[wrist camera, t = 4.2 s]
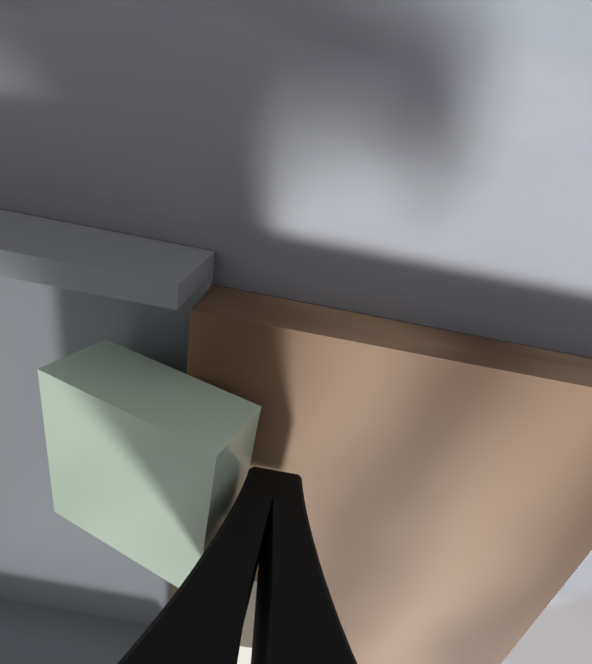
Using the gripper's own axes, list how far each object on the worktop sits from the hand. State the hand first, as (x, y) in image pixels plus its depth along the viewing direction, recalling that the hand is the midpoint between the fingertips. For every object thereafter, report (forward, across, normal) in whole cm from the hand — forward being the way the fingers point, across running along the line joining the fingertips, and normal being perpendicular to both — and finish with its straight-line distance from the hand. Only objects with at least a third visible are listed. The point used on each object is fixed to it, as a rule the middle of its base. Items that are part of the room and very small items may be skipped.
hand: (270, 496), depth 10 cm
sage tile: (+1, +3, 0) cm, 3 cm away
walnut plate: (+3, -4, +4) cm, 6 cm away
